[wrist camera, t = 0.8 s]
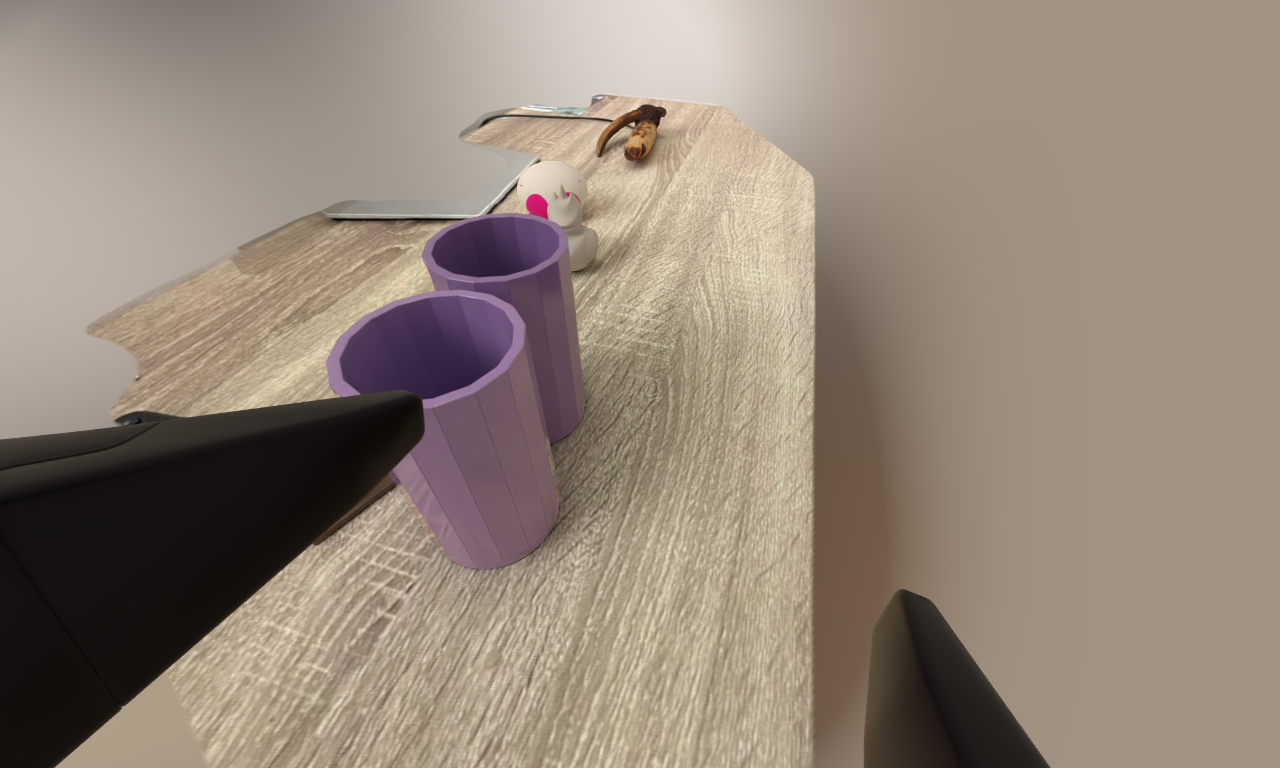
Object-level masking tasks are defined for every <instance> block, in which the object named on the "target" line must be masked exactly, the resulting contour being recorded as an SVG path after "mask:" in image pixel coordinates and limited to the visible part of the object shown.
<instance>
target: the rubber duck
mask: <svg viewBox="0 0 1280 768" xmlns="http://www.w3.org/2000/svg"><path fill="white" fill-rule="evenodd" d="M547 213H548V220H550V221H553V222H555V223H557V224H558V225H559V226H560V227H561V228H562V229H563V230H564V231H565V232H566V233H567V234H568V242H569V251H570V261H571V270H572V271H578V270H581V269H583V268H585V267H586V266H587V265H588V263H589V262H590V261H592V260H593V259H594V257H595V255H596V253H597V247H598V236H597V233H596V232H595V231H594V230H593V229H590V228H587V227H586V226H584V225H582V222H583V213H582V206H581V204H580V202H579V200H578V199H577V198H576V197H575V195H574V194H573V193H572V192H571V193H570V196H569V197H567V195H566V192H565V190H564V188H563V186H562V184H561V186H560V193H559V196H557V195H556V193H555V192H553V194H552V197H551V200H550V202H549V205H548V208H547Z"/></svg>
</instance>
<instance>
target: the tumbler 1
mask: <svg viewBox="0 0 1280 768" xmlns="http://www.w3.org/2000/svg"><path fill="white" fill-rule="evenodd" d="M422 259H423V261H424V264H425V267H426V270H427V273H428V275H429V278H430V281H431V284H432V286H433V289H434V291H448V290H468V291H474V292H480V293H486V294H491V295H493V296H495V297H497V298H499V299H501V300H503V301H505V302H507V303H509V304H510V305H512V306H513V307H514V308H515V309H516V311H517V312H518V314H519V315H520V317H521V318H522V320H523V321H524V323H525V325H526V330H527V335H528V339H529V344H530V349H531V354H532V359H533V364H534V369H535V373H536V378H537V383H538V388H539V393H540V398H541V402H542V407H543V412H544V417H545V422H546V427H547V432H548V436H549V441H550V444H553V443H555V442H557V441H559V440H561V439H563V438H564V437H566V436H567V435H568V434H570V433H571V432H572V431H573V430H574V429H575V428H576V427H577V425H578V424H579V423H580V421H581V419H582V417H583V415H584V411H585V394H584V384H583V374H582V365H581V355H580V346H579V336H578V327H577V317H576V308H575V299H574V289H573V280H572V270H571V261H570V251H569V242H568V234H567V233H566V232H565V231H564V230H563V229H562V228H561V227H560V226H559V225H558V224H557V223H555V222H553V221H550V220H548V219H545V218H542V217H540V216H535V215H527V214H520V213H503V214H490V215H489V214H488V215H483V216H478V217H474V218H469V219H465V220H462V221H460V222H457V223H455V224H453V225H450V226H448V227H446V228H443V229H441V230H440V231H439V232H438V233H437V234H435V235H434V236H433V237H432V238H430V239H429V240H428V241H427V242H426V245H425V247H424V250H423V252H422Z"/></svg>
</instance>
